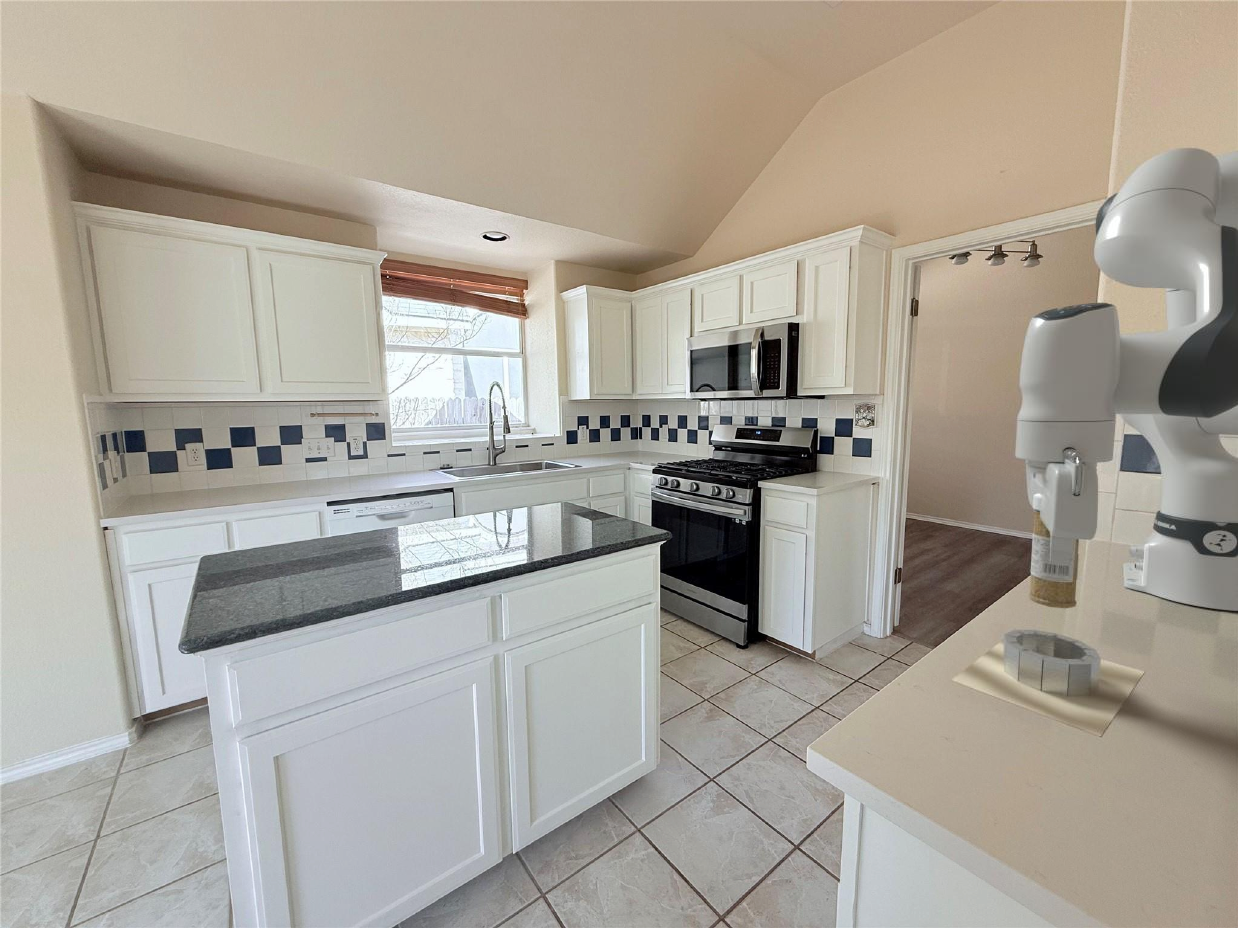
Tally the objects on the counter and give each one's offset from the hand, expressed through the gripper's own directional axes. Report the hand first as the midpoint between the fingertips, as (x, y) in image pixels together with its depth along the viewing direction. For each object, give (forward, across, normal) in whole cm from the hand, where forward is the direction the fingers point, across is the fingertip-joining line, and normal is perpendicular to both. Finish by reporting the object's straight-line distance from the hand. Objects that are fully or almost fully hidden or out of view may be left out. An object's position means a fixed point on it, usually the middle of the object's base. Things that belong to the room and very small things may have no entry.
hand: (1054, 557), depth 63 cm
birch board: (+17, 0, 0) cm, 17 cm away
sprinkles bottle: (+6, 0, 0) cm, 6 cm away
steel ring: (+15, 0, 0) cm, 15 cm away
